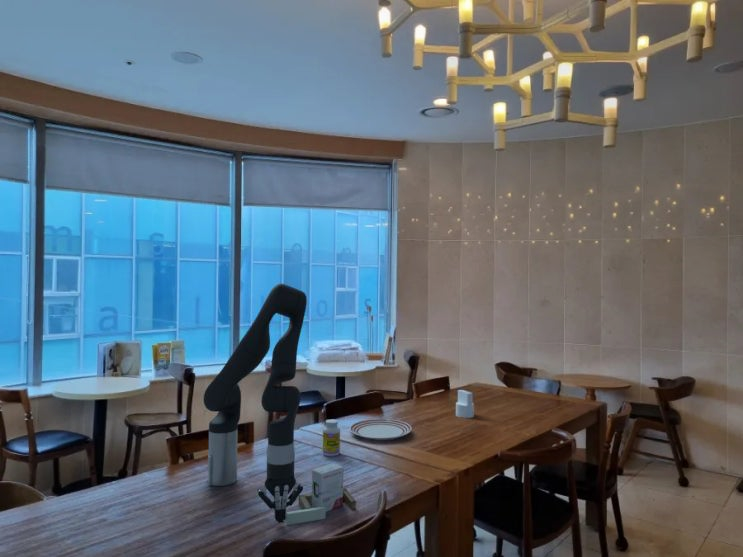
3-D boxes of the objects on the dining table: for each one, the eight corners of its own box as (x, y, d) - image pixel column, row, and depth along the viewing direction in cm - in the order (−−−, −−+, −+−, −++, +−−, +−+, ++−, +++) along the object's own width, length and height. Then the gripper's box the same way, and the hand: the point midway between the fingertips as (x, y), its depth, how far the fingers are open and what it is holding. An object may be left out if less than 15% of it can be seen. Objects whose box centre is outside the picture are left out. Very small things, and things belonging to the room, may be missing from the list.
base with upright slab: (452, 414, 263) (452, 390, 263) (466, 412, 266) (467, 389, 266) (462, 418, 254) (462, 394, 254) (477, 416, 258) (477, 392, 258)
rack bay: (306, 516, 147) (306, 488, 147) (296, 500, 159) (297, 474, 159) (355, 509, 153) (356, 482, 153) (343, 493, 164) (343, 468, 164)
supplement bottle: (324, 457, 197) (324, 423, 197) (321, 451, 203) (321, 419, 203) (341, 456, 199) (341, 422, 199) (337, 450, 205) (338, 418, 205)
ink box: (333, 500, 159) (334, 462, 159) (344, 505, 155) (344, 466, 155) (310, 508, 153) (310, 468, 153) (320, 514, 149) (321, 473, 149)
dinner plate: (387, 448, 209) (388, 440, 209) (336, 435, 225) (336, 428, 225) (423, 433, 230) (423, 425, 230) (374, 422, 247) (374, 415, 247)
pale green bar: (287, 524, 142) (287, 514, 142) (286, 523, 144) (286, 512, 144) (325, 518, 146) (325, 508, 146) (324, 516, 147) (324, 506, 147)
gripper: (301, 451, 148) (300, 512, 148) (254, 456, 143) (253, 519, 143) (307, 460, 141) (306, 523, 141) (258, 466, 136) (257, 531, 136)
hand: (280, 521), depth 142 cm, fingers closed
